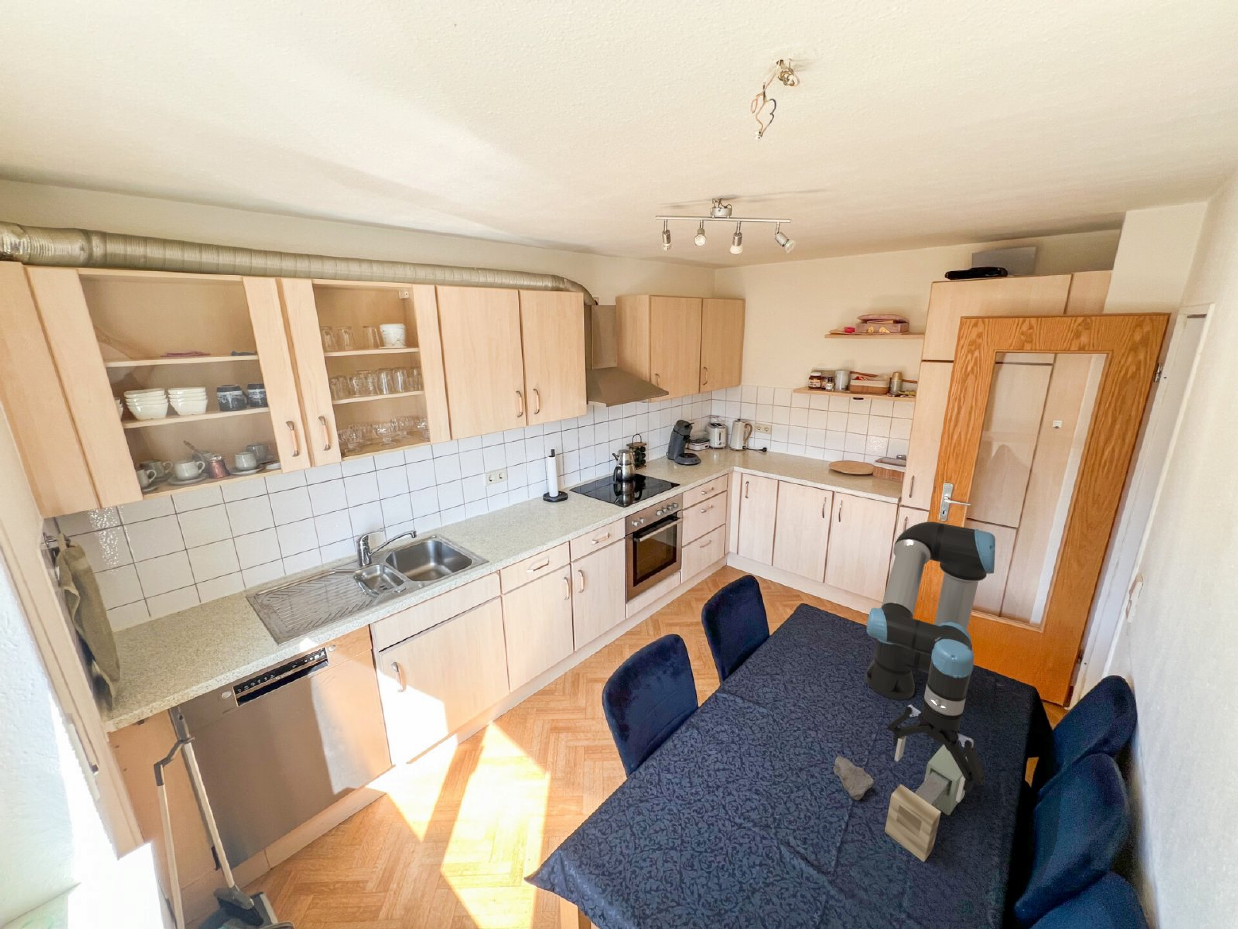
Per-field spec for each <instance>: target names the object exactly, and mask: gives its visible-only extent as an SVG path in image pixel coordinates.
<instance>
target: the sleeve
mask: <svg viewBox="0 0 1238 929" xmlns="http://www.w3.org/2000/svg"><path fill="white" fill-rule="evenodd" d="M965 757H966V756H965ZM966 759H967V757H966ZM967 761H968V760H967ZM933 770H936V771H937V772H939V773H940V774H942V775H943V776H945V777H947V778H948V779H950V780H951V781H952V784H951V788H950V789H949V791H948V792H947V793H946V795H945V796H944V797H943V799H942V800H941V801H940V803H939V804H938V805H937V807H936V809H938V810H939V811H941V813H944V814H945V815H947V816H950V815H951V814H952V812H953V810H954V809H955V807H956V806H957V805H958V804H959V802H957V801H956V796H957V792H958V788H959V784H960V779H961V777H962V776H963V774H962V772H961V771H960V769H959V767H958V765H957V764H956V762H955V760H954V758H953V757H952V755H951V753H950V751H948V750H947V749H946V747H945V745H944V744H942V746H941V747H940V748H939V749H938V750H937V751H936V753H935V754H934V755H933V756H932V757H931V758H930V760H929V761H928V762H927V765H926V770H925V776H924V780H923V782H924V781H925V780H926V779H927V777H928V776H929V775H930V774H931V772H932V771H933Z"/></svg>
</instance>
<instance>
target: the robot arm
mask: <svg viewBox="0 0 1238 929" xmlns="http://www.w3.org/2000/svg"><path fill="white" fill-rule="evenodd" d="M893 554H894V560H893V563H892V567H891V571H890V574H889V577H888V580H887V581H888V582H887V585H886V588H885V592H884V595H883V600H882V603H881V605H880V608H879V607H878V608H877V607H872V608H870V611H869V615H868V618H867V621H866V622H867V624H866V633H867V635H868V636H870V637H871V638H874V639H876V642H875V650H874V654H873V655H874V656H873V660H872V662H870V664H869V666H868V667H867V669H866V671H865V683H866V684H867V685H868V687H869V688H871V690H873V691H874V692H876V693H877V694H879V695H880V696H882V697H886V698H887V699H892V700H896V701H898V700H899V701H903V700H905V701H906V700H909V699H911V698H912V697H913V696H914V695H915V688H916V687H915V686H916V685H915V681H914V675H913V672H912V671H913V669H914V670H917V671H920V672H924V673H926V674H928V676H927V681H926V686H925V691H924V697H923V702H922V707H921V711H920V710H919V709H918V708H916V704H914V703H910V704H909V705H908V706H907V707H906V708H905V710H904V712H903V713H902V714H900V715H899V716H898V717H896V718H895V719H894V720H892V721H891V722H890V723H889V724H888V725H887V726H886V728H887V730H888V731H889V732H892V733H893V735H894V736H893V742H892V744H893V746H894V747H896V750H895V755H894V761H895V762H897V763H898V762H899V761H900V760H901V759H902V757H903V756H904V753H905V752H904V750H905V747H906V746H905V745H906V740H907V736H910V735H915V734H923V733H925V734H926V736H927V737H929V738H931V739H934V741H936V742H937V743H939V744H942V745H945V747H946V749H947V750H948V751H950V753H951V755H952V757H953V758H954V760H955V762H956V764H957V765H958V767H959V769H960V771H961V772H962V774H963V776H962V777H961V779H960V784H959V788H958V792H957V796H956V801H957V802H958V803H960V802H961V801H962V800H963V798H964V797H965V794H966V793H970V792H971V790H972V789H973V786H974V784H976V786H979V787H982V785H983V783H984V782H985V781H986V775H985V774H984V770H983V767H982V765H981V761H980V759H979V756H978V753H977V750H976V746H975V745H976V743H975V742H976V740H975V738H974V736H971V735H970V736H965V735H964V734H961V732H960V725H961V721H962V718H963V712H964V709H965V708H964V707H965V703H966V698H967V693H968V687H969V684H970V680H971V676H972V673H973V670H974V664H975V663H974V662H975V654H974V652H975V651H974V650H973V643H972V637H971V635H970V633H969V631H968V630H969V624H970V620H971V615H972V610H973V606H974V601H975V598H976V594H977V589H978V585H979V582H980V581H983V580H985V579H986V578H987V575H988V574H989V575H990V574H994V573H995V566H996V565H995V564H996V563H995V562H996V561H995V560H996V559H995V558H996V537H995V535H994V534H993V533H991V532H989V531H983V530H980V529H977V528H975V529H974V528H970V527H963V526H957V525H955V524H954V525H952V524H948V523H941V522H939V521H938V522H937V521H924V522H920V523H917V524H913V525H911V526H910V527H908V528H907V529H905V530H904V531H902V532H901V534H899V536H897V539H896V540H895V543H894V546H893ZM929 561H932V562H933V561H934V562H938V563H939V568H940V570H941V572H943V577H942V583H941V588H940V593H939V598H938V603H937V609H936V614H935V619H934V623H930V622H926V621H923V620H920V619H917V618H916V619H915V618H914V616H915V610H916V606H917V601H918V597H919V592H920V586H921V583H922V578H923V574H924V569H925V565H926V564H927V563H928V562H929ZM914 717H917V718H918V719H917V720H918V721H919V722H916V723H913V724H910V725H909V724H908V725H906V726H905V725H904V726H902V727H901V726H899V725H901V724H903V723H904V722H905V721H907V720H908V719H909V718H914ZM959 741H960V743H961V747H962V748H963V750H964V753H963V751H962V749H961V747H960V744H959ZM966 757H967V759H966ZM967 760H968V761H967Z"/></svg>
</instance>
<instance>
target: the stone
mask: <svg viewBox="0 0 1238 929" xmlns="http://www.w3.org/2000/svg"><path fill="white" fill-rule="evenodd" d="M833 764H834V766H833V772H834V775H835V776H837V777H839V779H840V781H841V784H842V786H843V789H844V790H845V791H846V792H848V794H849V797H850V798H852V799H853V800H855V801H860V800H861V799H862V798H863V797H864V795H865V793H866V792H867V791H868V790H869V789H870V788H872V787H873V785H874V782H875V780H874V779H873V778H872V776H871V775H870V774H868V773H867V772H866V771H865V769H863V768H862V767H859V766H856V765H854V763H853V762H851V761H850V760H849V759H847V758H845V757H842V756H841V755H838V756H837V757H836V759H835V760H834V763H833Z"/></svg>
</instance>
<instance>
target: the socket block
mask: <svg viewBox="0 0 1238 929" xmlns="http://www.w3.org/2000/svg"><path fill="white" fill-rule="evenodd" d="M887 812H888V813H887V818H886V823H885V829H884V833H886V834H887V835H888V836H889V837H891V838H892V840H893V839H894V841H896V842H897V843H898V844H900V845H901V846H902V847H903V848H904V849H906V850H907V851H909V852H910V853H912V855H914V856H915V857H916V858H918V859H919V860H920V861H921V862H922V863H924V862H925V861H926V860H927V858H928V857H929V855H930V854H931V853H932V852H933V849H934V846H935V841H936V836H937V832H938V828H939V822H940V817H941V815H942V814H941V813H942V811H941V810H939V809H938V808H937V807H936V808H935V807H933V806H932V805H931V804H929V803H928V802H926V801H925V800H923V799H922V798H920V797H919V796H917V795H916V794H915V792H913V791H912V790H910V789H909V788H907V787H906V786H904V785H903V784H901V783H900V784H899V785H898V786H897V788H895V790H894V791H893V792H892V793H891V795H890V801H889V806H888V811H887Z"/></svg>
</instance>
